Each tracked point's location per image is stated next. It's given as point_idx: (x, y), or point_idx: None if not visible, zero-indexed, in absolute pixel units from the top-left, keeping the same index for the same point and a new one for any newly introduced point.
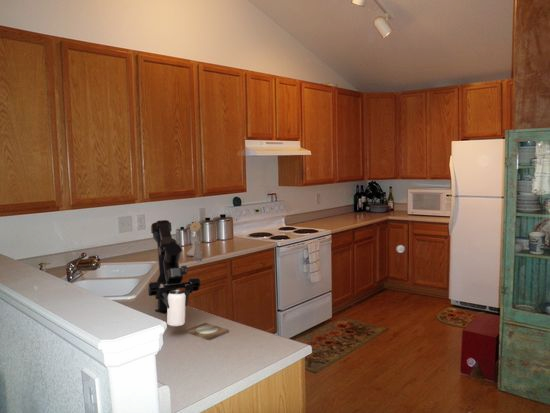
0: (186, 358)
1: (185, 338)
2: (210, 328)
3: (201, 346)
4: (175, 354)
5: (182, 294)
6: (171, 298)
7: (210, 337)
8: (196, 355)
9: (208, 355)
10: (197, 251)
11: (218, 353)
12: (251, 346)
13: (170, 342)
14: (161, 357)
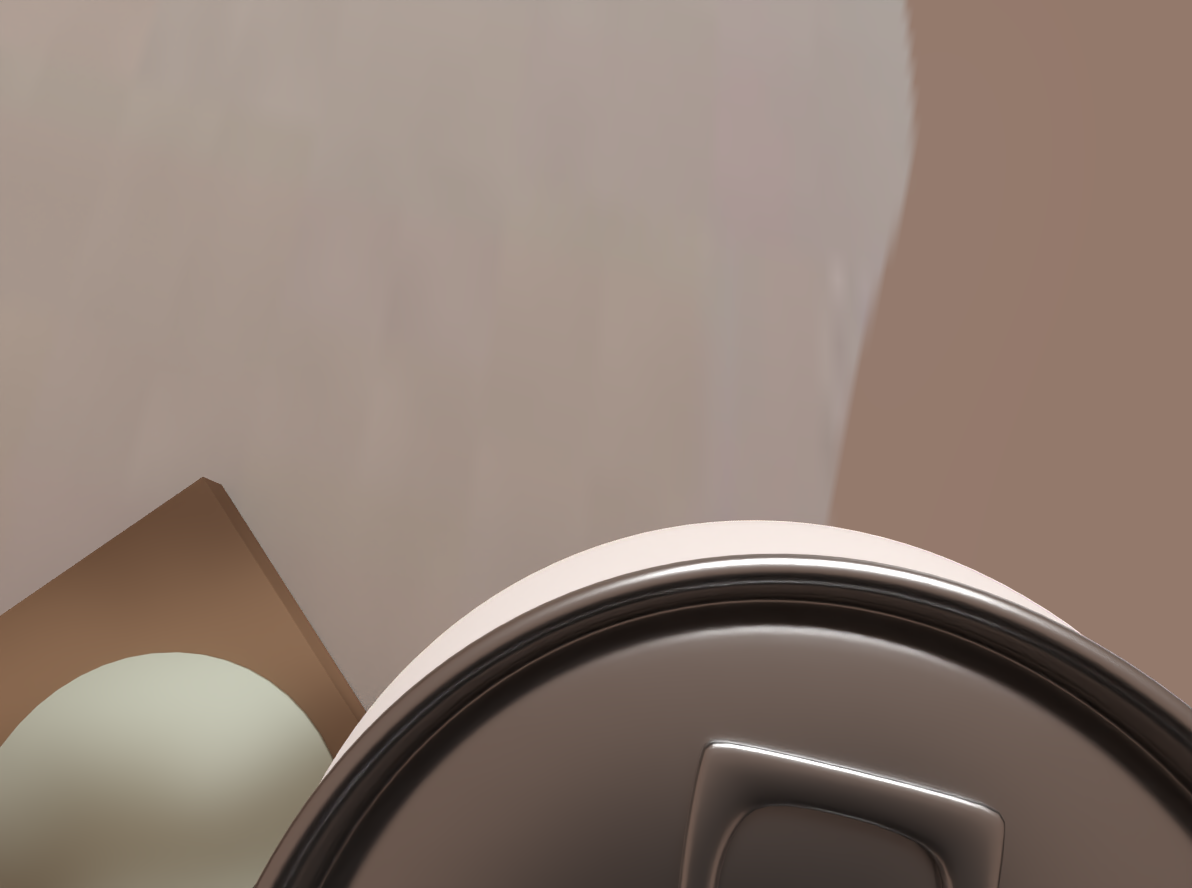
0: (597, 10)
1: None
2: (85, 877)
3: (368, 306)
4: (723, 149)
5: (412, 717)
6: (1058, 622)
7: (183, 492)
8: (472, 59)
9: (335, 25)
10: None
11: (210, 48)
12: None
13: None
14: (897, 108)
